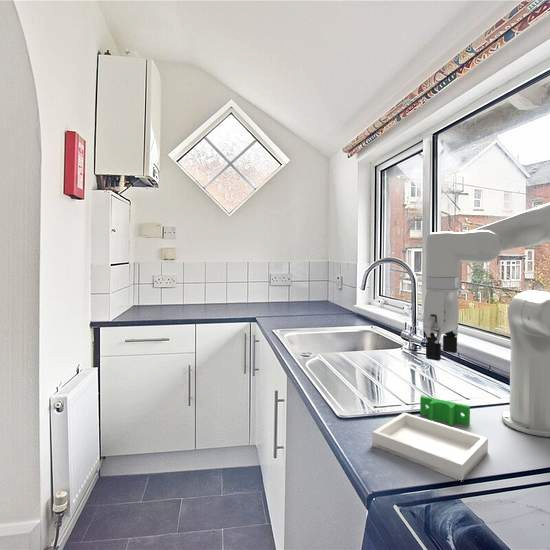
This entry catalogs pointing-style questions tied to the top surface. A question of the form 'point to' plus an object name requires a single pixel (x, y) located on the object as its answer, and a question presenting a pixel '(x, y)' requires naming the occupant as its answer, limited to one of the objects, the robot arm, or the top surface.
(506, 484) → the top surface
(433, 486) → the top surface
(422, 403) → the pipe clamp
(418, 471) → the top surface
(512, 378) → the robot arm
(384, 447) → the tray
